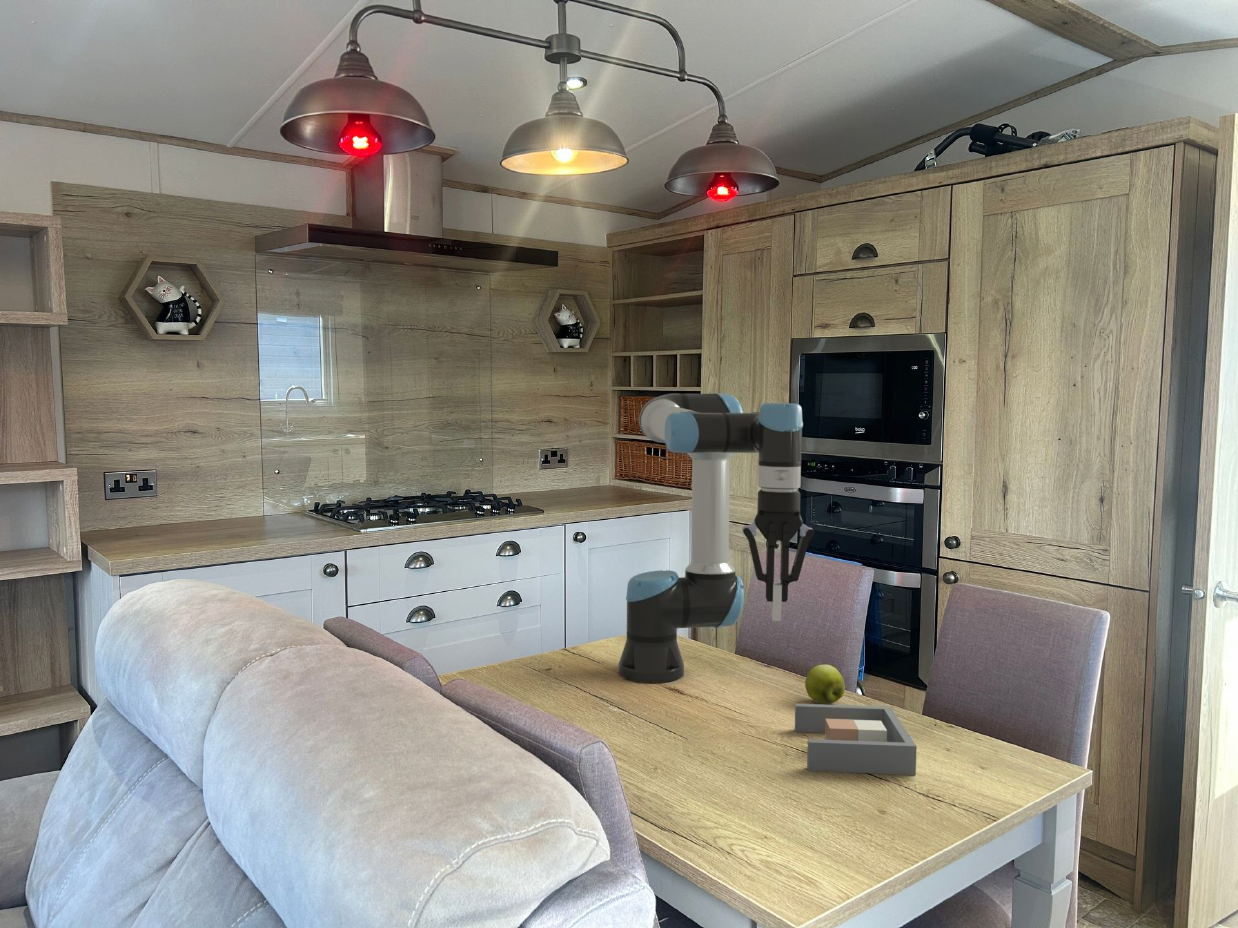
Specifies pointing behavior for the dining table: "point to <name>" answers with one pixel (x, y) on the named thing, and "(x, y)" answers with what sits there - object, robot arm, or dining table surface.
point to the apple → (825, 684)
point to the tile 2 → (871, 730)
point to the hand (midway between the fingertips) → (776, 618)
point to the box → (856, 754)
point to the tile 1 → (841, 730)
